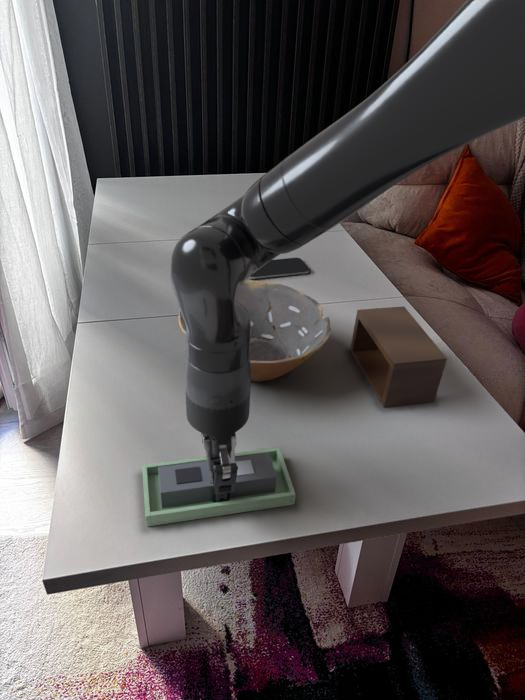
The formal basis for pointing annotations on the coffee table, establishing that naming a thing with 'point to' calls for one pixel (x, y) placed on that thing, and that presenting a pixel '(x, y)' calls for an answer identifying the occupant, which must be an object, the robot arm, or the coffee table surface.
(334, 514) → the coffee table surface
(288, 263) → the smartphone
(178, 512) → the tray
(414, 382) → the brown wooden open box
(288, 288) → the bowl
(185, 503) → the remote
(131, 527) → the coffee table surface
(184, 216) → the coffee table surface
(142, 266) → the coffee table surface
